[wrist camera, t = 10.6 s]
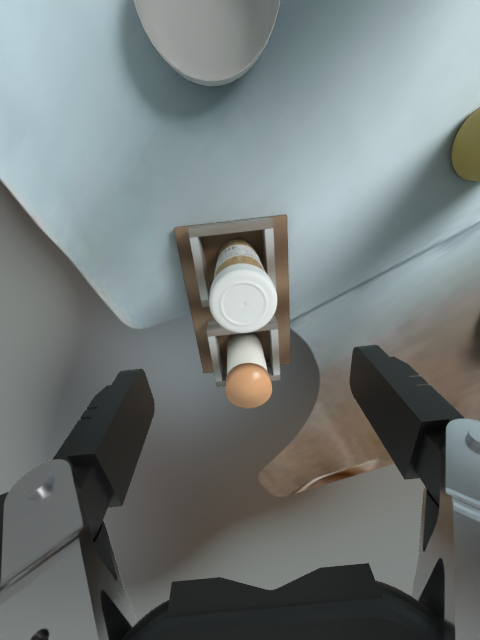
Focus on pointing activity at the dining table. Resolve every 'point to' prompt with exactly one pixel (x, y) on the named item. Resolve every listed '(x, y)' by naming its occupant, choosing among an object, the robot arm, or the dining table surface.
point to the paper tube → (468, 148)
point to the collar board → (199, 270)
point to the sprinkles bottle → (241, 289)
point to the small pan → (209, 35)
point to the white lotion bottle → (247, 371)
